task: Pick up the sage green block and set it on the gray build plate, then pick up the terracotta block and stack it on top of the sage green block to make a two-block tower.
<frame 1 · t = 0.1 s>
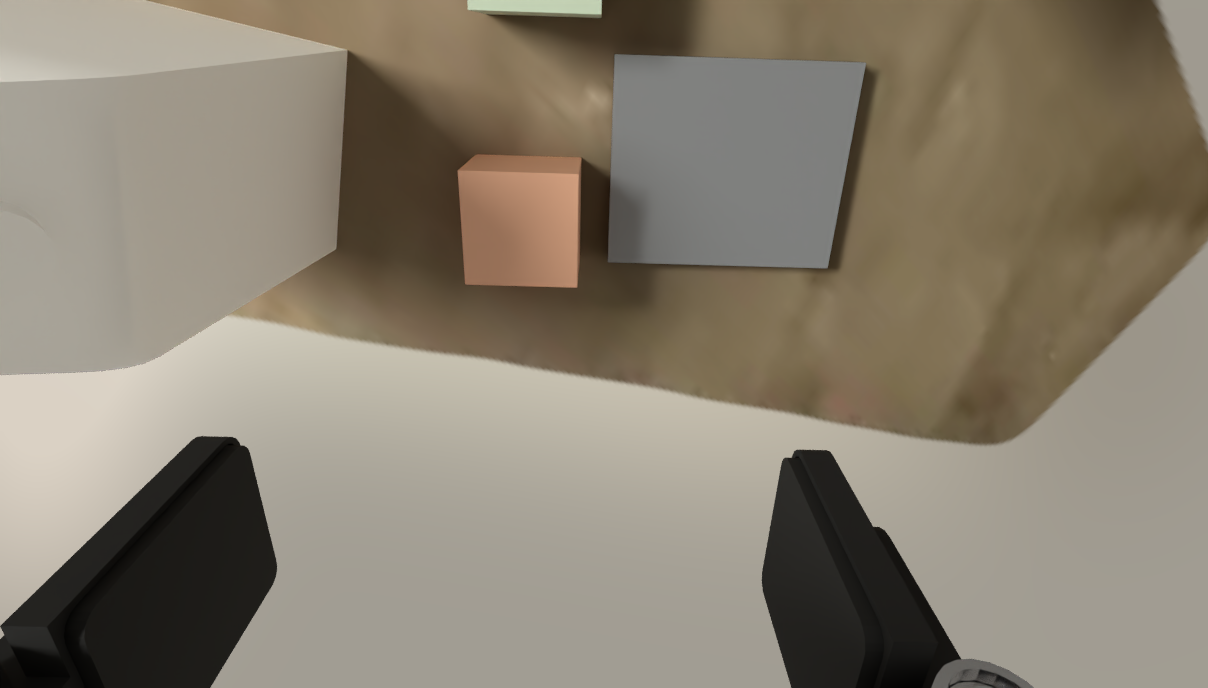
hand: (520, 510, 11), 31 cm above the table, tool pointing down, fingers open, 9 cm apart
milk: (245, 133, 38), on the table
terracotta block: (530, 207, 40), on the table
gray build plate: (725, 165, 39), on the table
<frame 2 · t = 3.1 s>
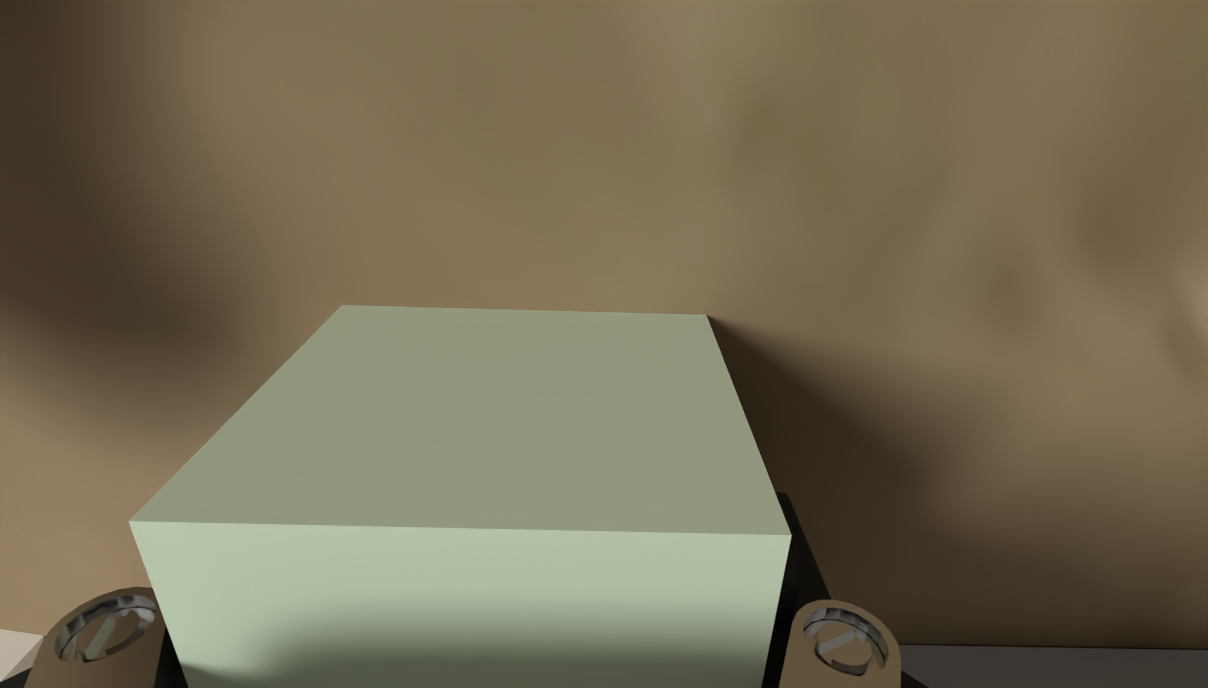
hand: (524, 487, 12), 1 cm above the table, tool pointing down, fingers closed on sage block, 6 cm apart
sage block: (528, 460, 13), on the table, touching gripper
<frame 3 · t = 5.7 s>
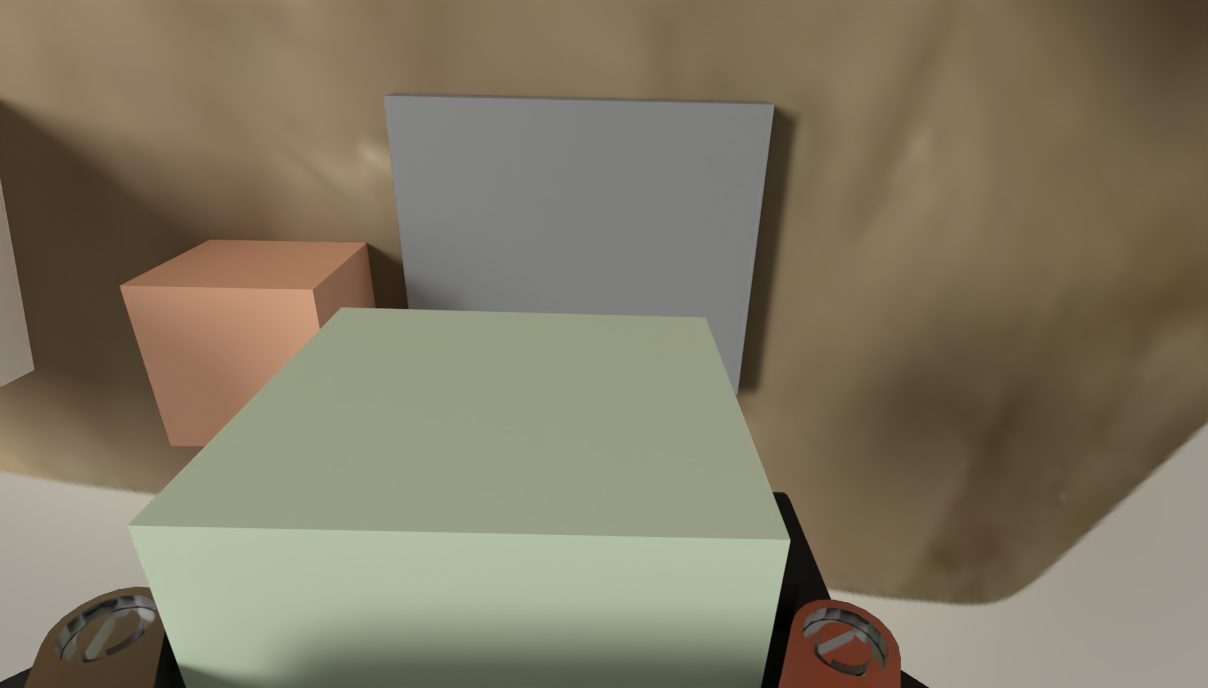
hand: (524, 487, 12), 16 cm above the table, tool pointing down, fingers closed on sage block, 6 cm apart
terracotta block: (303, 312, 28), on the table
gray build plate: (579, 251, 27), on the table
sage block: (527, 462, 13), point 15 cm above the table, touching gripper
when the fingers open (3 cm above the table, at t = 8.7 s): sage block drops 1 cm, resting on gray build plate.
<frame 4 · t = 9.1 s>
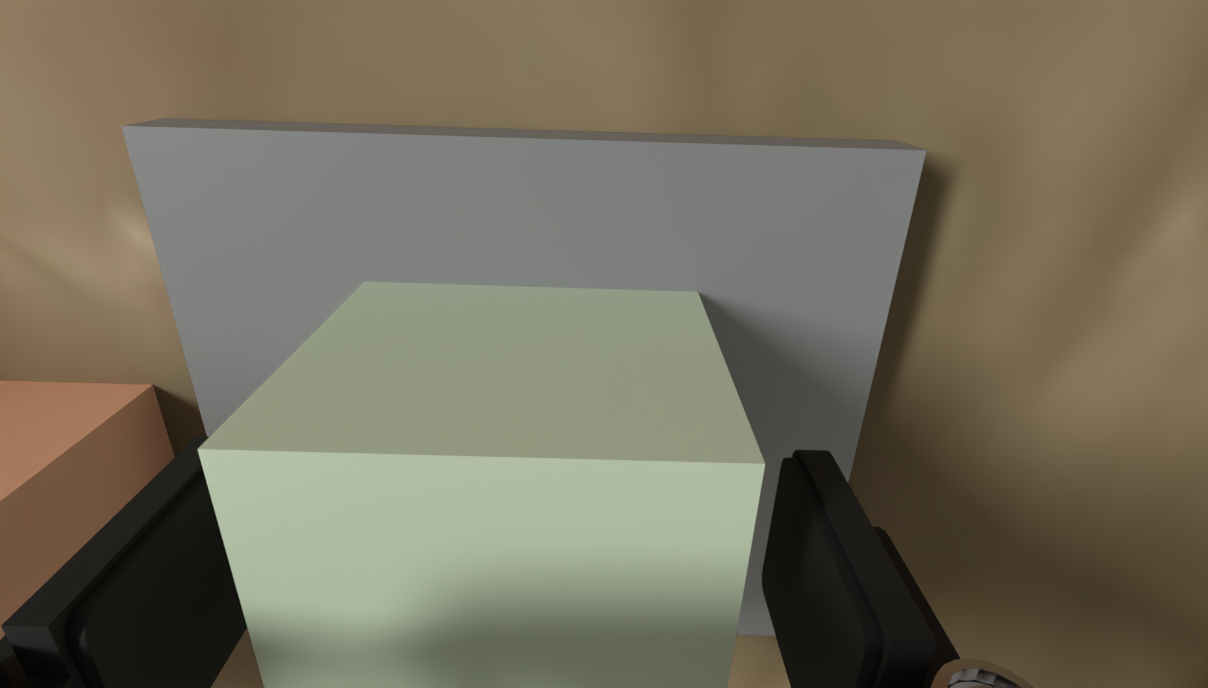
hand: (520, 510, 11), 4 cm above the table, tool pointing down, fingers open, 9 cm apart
terracotta block: (59, 491, 16), on the table
gray build plate: (538, 402, 15), on the table
sage block: (533, 428, 14), point 1 cm above the table, touching gray build plate
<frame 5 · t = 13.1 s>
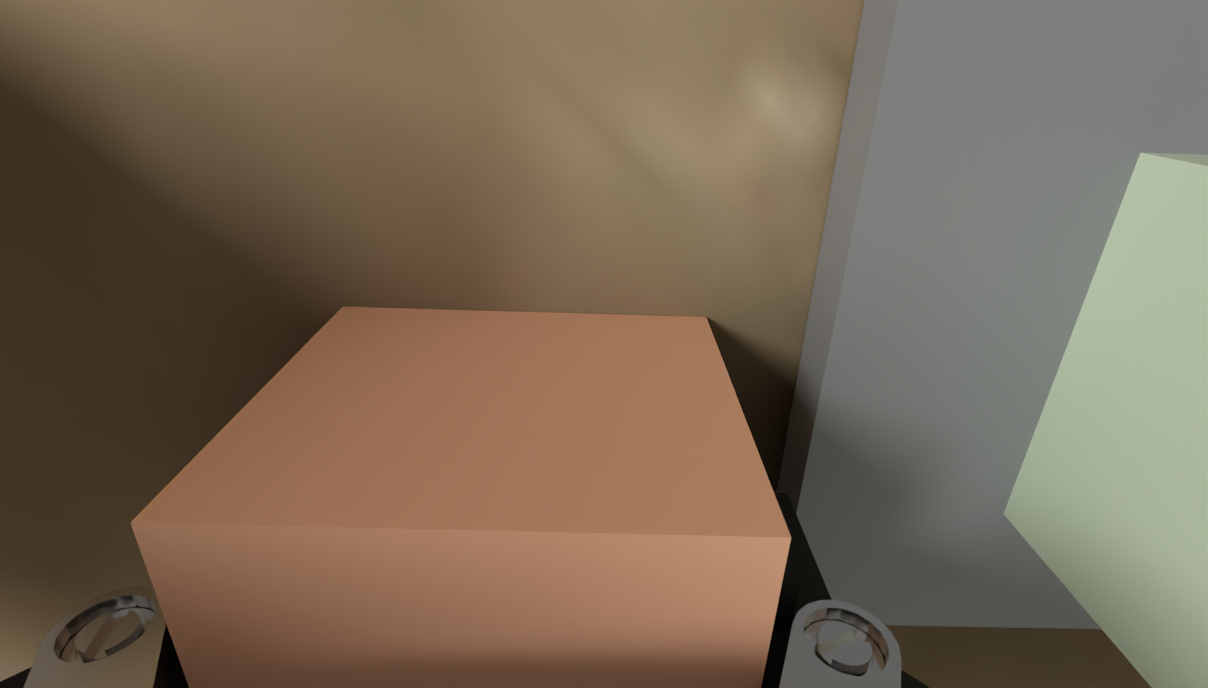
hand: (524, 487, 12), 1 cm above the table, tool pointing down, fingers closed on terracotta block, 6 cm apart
terracotta block: (528, 461, 13), on the table, touching gripper
gray build plate: (1193, 335, 12), on the table
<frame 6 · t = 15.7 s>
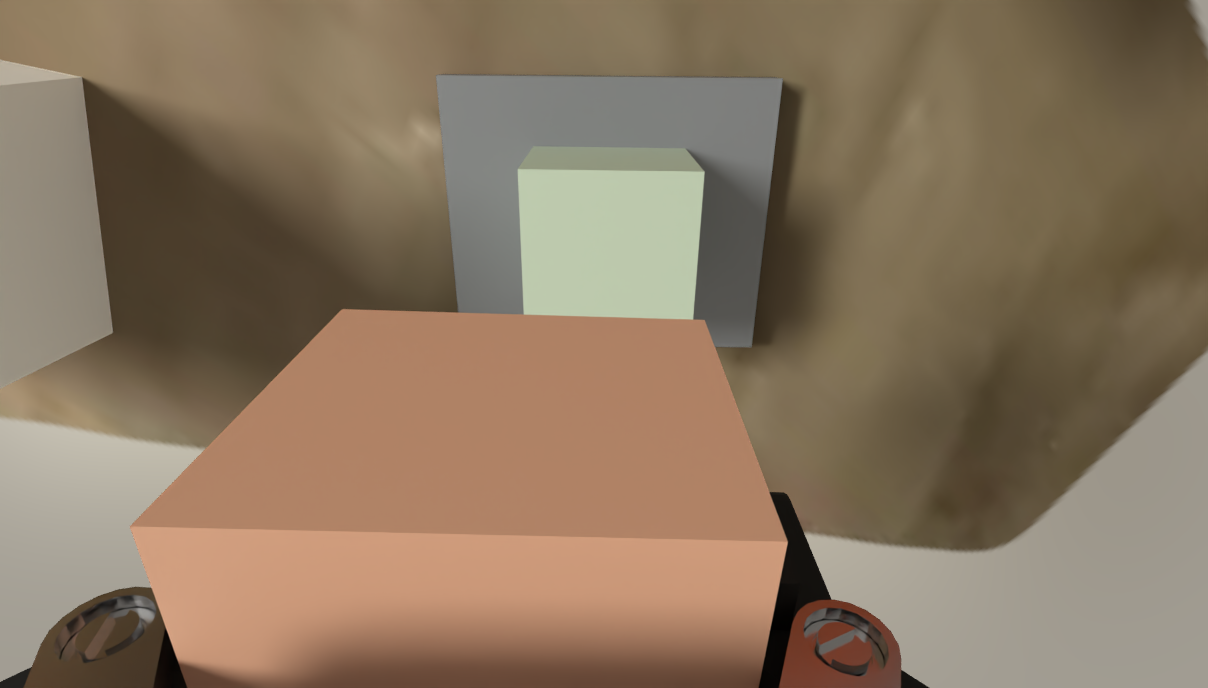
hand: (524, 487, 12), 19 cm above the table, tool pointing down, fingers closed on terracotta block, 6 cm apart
terracotta block: (527, 463, 13), point 19 cm above the table, touching gripper
gray build plate: (607, 217, 29), on the table
sage block: (608, 222, 28), point 1 cm above the table, touching gray build plate
when the fingers open (9 cm above the table, at t = 18.4 s): terracotta block stays where it is, resting on sage block.
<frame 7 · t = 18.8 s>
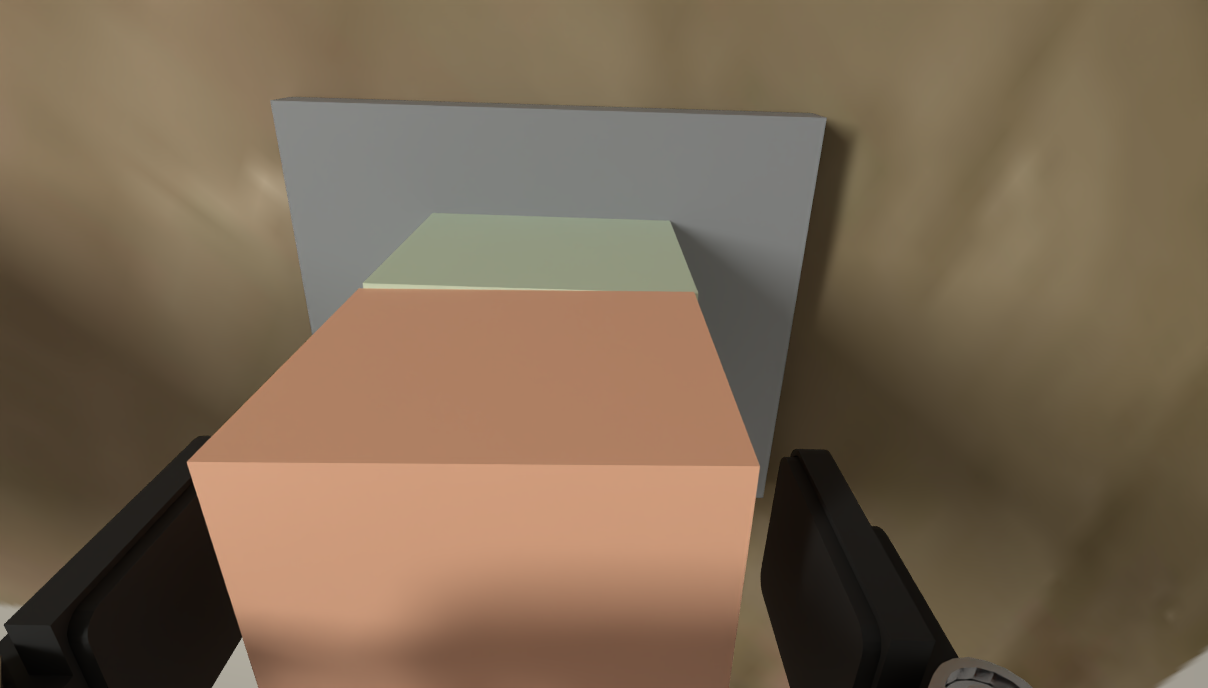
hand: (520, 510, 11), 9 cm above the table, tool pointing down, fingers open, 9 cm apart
terracotta block: (532, 432, 14), point 7 cm above the table, touching sage block
gray build plate: (554, 311, 20), on the table
sage block: (551, 325, 19), point 1 cm above the table, touching gray build plate, terracotta block
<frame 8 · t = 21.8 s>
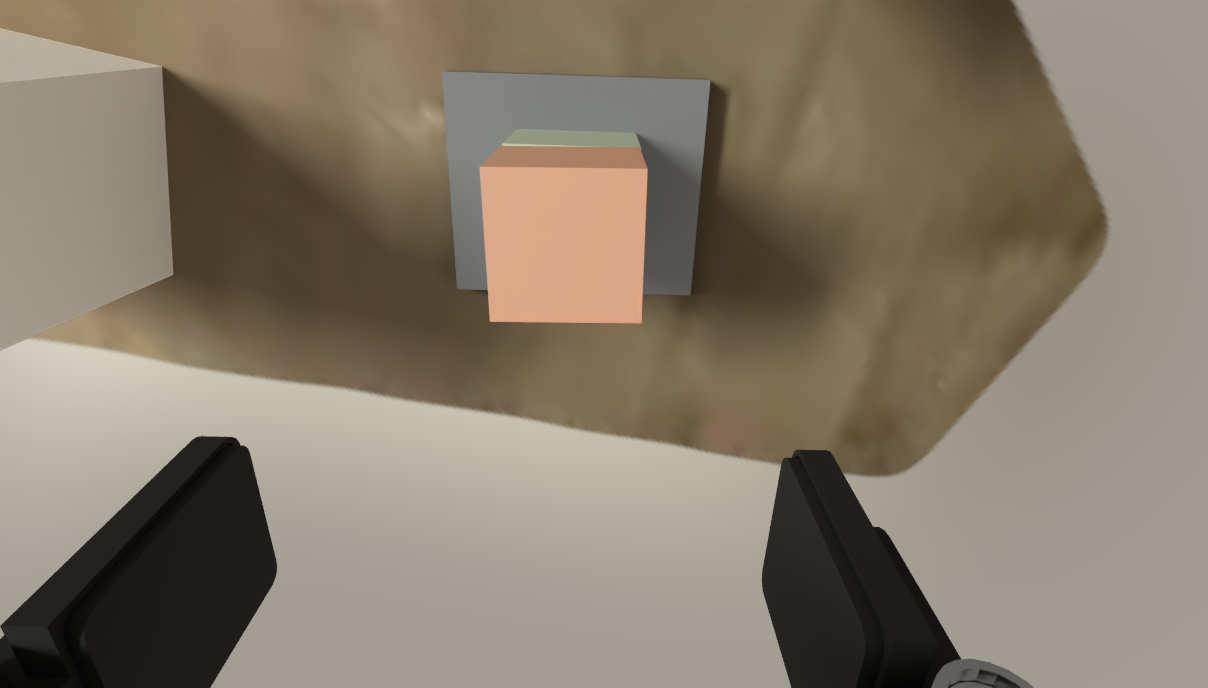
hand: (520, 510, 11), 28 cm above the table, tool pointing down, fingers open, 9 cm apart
milk: (64, 153, 36), on the table
terracotta block: (570, 215, 31), point 7 cm above the table, touching sage block
gray build plate: (575, 187, 37), on the table
sage block: (575, 190, 36), point 1 cm above the table, touching gray build plate, terracotta block
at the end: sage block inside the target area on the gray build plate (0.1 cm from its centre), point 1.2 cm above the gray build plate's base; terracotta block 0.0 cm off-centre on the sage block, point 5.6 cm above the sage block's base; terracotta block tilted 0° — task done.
